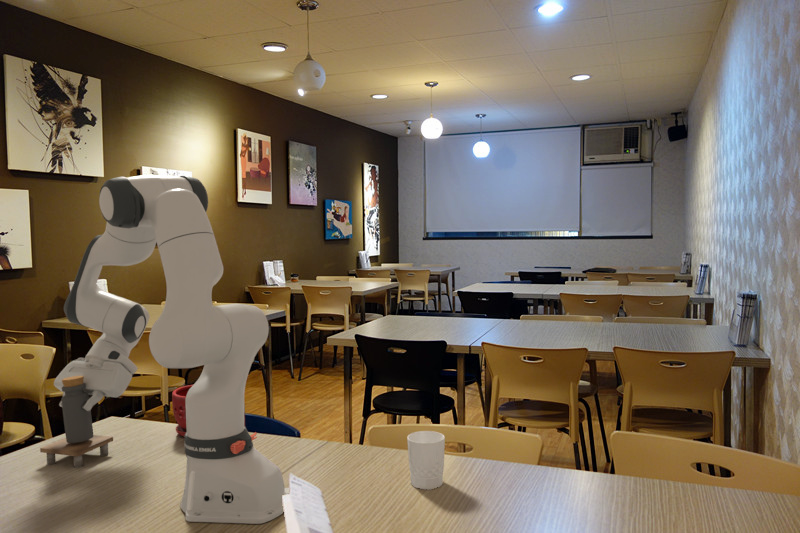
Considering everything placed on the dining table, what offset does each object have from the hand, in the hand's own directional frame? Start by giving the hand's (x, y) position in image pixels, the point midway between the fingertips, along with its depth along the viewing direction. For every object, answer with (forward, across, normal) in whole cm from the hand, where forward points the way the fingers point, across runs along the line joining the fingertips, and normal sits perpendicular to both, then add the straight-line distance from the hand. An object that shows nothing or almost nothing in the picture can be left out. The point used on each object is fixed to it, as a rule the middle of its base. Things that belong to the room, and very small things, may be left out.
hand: (73, 408), depth 147 cm
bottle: (+5, +1, +6) cm, 8 cm away
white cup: (-2, +84, +20) cm, 86 cm away
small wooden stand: (+8, 0, +9) cm, 12 cm away
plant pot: (-9, +15, +27) cm, 33 cm away
